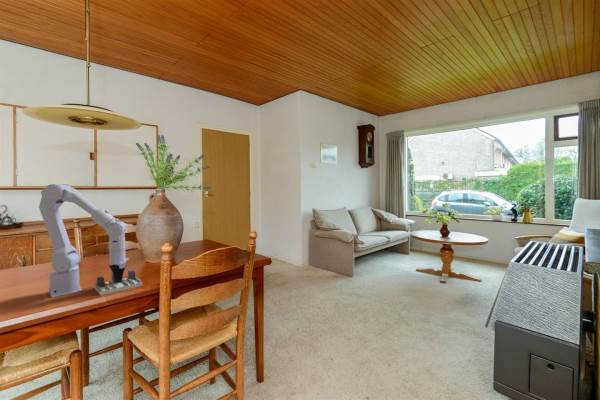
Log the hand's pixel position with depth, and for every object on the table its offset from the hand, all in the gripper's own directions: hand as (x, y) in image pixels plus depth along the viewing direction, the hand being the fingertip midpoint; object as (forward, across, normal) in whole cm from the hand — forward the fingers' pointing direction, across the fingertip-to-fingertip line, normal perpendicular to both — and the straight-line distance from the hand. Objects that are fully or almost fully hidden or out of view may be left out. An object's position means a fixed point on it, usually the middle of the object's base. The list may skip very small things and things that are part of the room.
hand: (118, 281), depth 118 cm
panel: (+2, 0, 0) cm, 2 cm away
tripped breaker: (+1, +3, 0) cm, 3 cm away
